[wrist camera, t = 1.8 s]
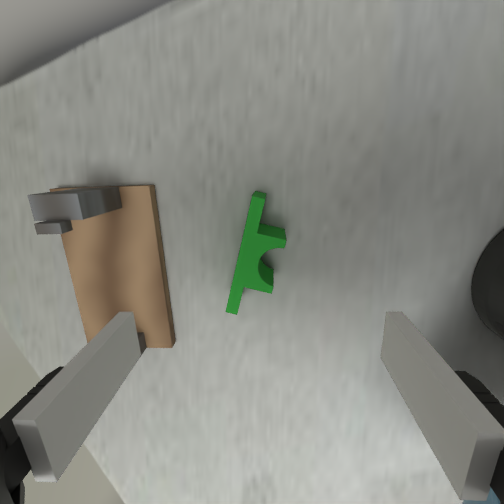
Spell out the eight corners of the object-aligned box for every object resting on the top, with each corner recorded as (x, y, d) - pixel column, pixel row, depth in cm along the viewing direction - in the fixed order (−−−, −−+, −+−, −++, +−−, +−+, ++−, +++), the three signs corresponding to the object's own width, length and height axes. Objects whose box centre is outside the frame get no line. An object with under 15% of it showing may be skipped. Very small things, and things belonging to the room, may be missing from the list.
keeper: (154, 184, 28) (106, 194, 20) (175, 341, 33) (144, 398, 25) (58, 188, 29) (-25, 198, 21) (94, 340, 34) (40, 395, 26)
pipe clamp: (265, 298, 31) (263, 321, 27) (232, 290, 31) (225, 312, 27) (292, 199, 28) (296, 206, 23) (255, 190, 28) (251, 196, 23)
